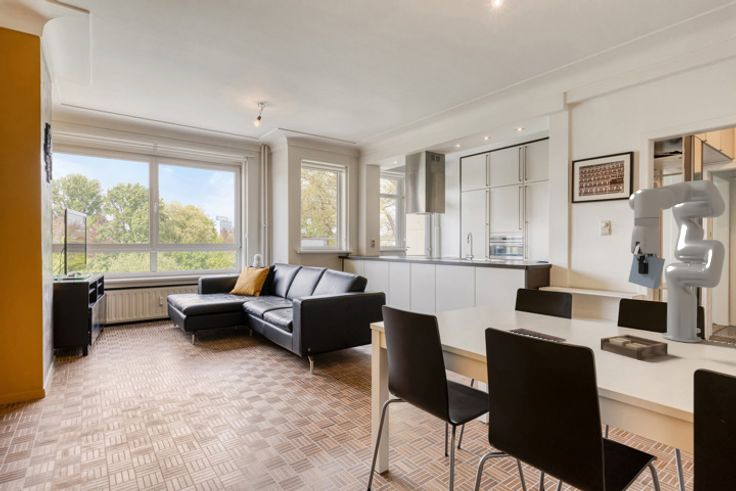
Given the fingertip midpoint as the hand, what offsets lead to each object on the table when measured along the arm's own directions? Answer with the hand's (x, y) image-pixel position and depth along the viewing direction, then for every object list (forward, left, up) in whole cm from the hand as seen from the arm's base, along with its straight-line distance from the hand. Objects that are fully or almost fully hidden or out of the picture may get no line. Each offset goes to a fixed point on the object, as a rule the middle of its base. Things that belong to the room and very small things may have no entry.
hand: (646, 273), depth 143 cm
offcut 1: (+10, -3, -28) cm, 30 cm away
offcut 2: (+10, +3, -28) cm, 30 cm away
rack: (+7, 0, -29) cm, 30 cm away
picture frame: (+25, -31, -30) cm, 50 cm away
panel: (0, -1, -4) cm, 5 cm away
